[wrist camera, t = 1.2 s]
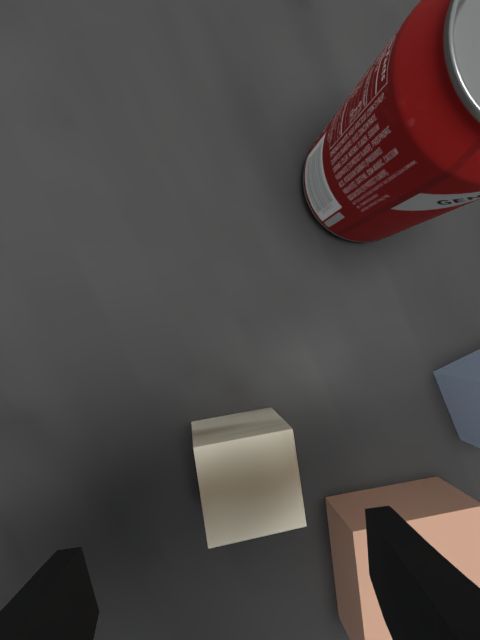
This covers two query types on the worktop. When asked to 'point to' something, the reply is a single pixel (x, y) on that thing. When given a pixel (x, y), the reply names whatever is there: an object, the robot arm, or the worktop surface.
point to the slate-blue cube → (463, 395)
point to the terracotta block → (423, 516)
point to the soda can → (404, 130)
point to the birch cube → (247, 476)
